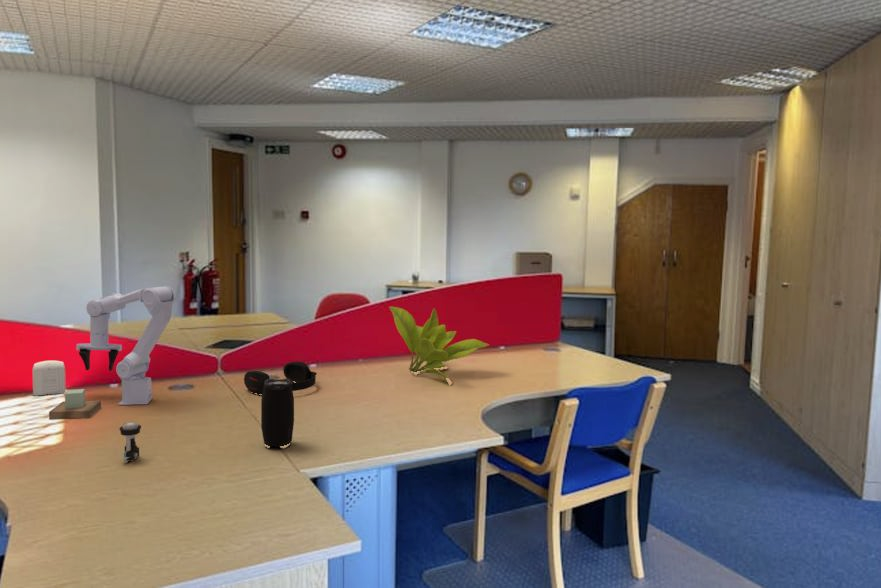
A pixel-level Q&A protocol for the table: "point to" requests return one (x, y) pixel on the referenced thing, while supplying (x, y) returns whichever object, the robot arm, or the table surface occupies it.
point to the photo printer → (48, 377)
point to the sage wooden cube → (75, 398)
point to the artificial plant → (431, 342)
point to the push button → (130, 440)
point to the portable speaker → (277, 412)
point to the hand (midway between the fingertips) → (99, 369)
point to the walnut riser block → (75, 411)
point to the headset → (291, 371)
